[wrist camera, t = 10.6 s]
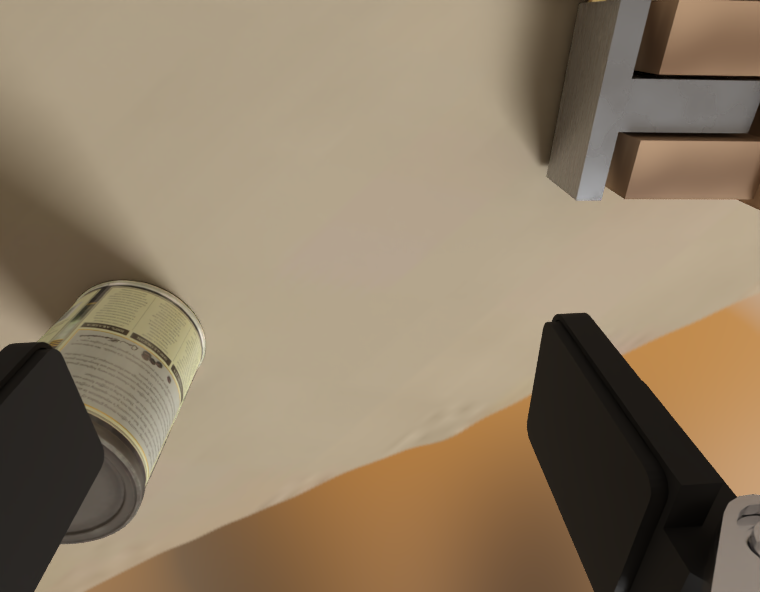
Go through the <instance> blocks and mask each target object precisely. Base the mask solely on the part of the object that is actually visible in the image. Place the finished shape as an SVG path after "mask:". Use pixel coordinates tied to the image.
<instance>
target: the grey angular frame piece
mask: <svg viewBox="0 0 760 592" xmlns="http://www.w3.org/2000/svg"><path fill="white" fill-rule="evenodd" d="M650 4H651V0H609V1H606V0H588V2H587V3H579V7H578V12H577V17H576V23H575V28H574V33H573V39H572V44H571V49H570V55H569V60H568V65H567V70H566V76H565V81H564V86H563V92H562V97H561V102H560V108H559V113H558V118H557V124H556V129H555V134H554V139H553V145H552V150H551V155H550V161H549V166H548V171H547V178H549V179H550V180H551V181H552V182H554V183H555V184H556V185H557V186H559V187H560V188H561V189H563V190H564V191H565V192H566V193H568V194H569V195H570V196H571V197H573V198H574V199H575V200H602V196H603V192H604V188H605V184H606V180H607V176H608V172H609V168H610V164H611V160H612V156H613V152H614V148H615V144H616V140H617V136H618V132H663V133H748V132H749V130H750V127H751V124H752V122H753V119H754V116H755V114H756V111H757V108H758V106H759V103H760V80H757V79H750V78H743V77H717V76H658V75H633V72H634V68H635V64H636V60H637V56H638V52H639V48H640V44H641V40H642V36H643V32H644V28H645V24H646V20H647V16H648V12H649V8H650Z"/></svg>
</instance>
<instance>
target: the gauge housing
mask: <svg viewBox="0 0 760 592" xmlns="http://www.w3.org/2000/svg"><path fill="white" fill-rule="evenodd" d="M634 70H636V71H642V72H647V73H653V74H663V75H722V76H736V77H743V78H750V79H757V80H760V1H731V0H662V1H651V4H650V8H649V12H648V16H647V20H646V24H645V28H644V32H643V36H642V40H641V44H640V48H639V52H638V56H637V60H636V64H635V68H634ZM605 186H606V187H607V188H609V189H610V190H612V191H613V192H615V193H616V194H618V195H619V196H621V197H622V198H624V199H737V200H739V201H741V202H743V203H746V204H748V205H750V206H752V207H754V208H756V209H759V210H760V103H759V106H758V108H757V111H756V114H755V116H754V119H753V122H752V124H751V127H750V130H749V132H748V133H663V132H618V136H617V140H616V144H615V148H614V152H613V156H612V160H611V164H610V168H609V172H608V176H607V180H606V184H605Z"/></svg>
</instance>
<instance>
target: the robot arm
mask: <svg viewBox="0 0 760 592" xmlns="http://www.w3.org/2000/svg"><path fill="white" fill-rule="evenodd" d="M527 431H528V436H529V439H530V442H531V444H532V447H533V449H534V452H535V454H536V456H537V459H538V461H539V463H540V466H541V468H542V470H543V473H544V475H545V477H546V480H547V482H548V484H549V487H550V489H551V491H552V494H553V496H554V498H555V501H556V503H557V505H558V508H559V510H560V513H561V515H562V517H563V520H564V522H565V524H566V526H567V528H568V531H569V534H570V536H571V538H572V541H573V543H574V545H575V548H576V550H577V552H578V555H579V557H580V559H581V562H582V564H583V566H584V569H585V571H586V573H587V576H588V578H589V580H590V583H591V585H592V588H593V590H594V592H760V495H754V494H752V495H745V496H739V497H737V496H736V495H735V494H734V493H733V492H732V490H731V489H730V488H729V487H728V485H727V484H726V483H725V482H724V480H723V479H722V478H721V477H720V475H719V474H718V473H717V472H716V470H715V469H714V468H713V467H712V465H711V464H710V463H709V462H708V460H707V459H706V458H705V457H704V456H703V454H702V453H701V452H700V451H699V449H698V448H697V447H696V446H695V444H694V443H693V442H692V441H691V439H690V438H689V437H688V436H687V435H686V433H685V432H684V431H683V429H682V428H681V427H680V426H679V425H678V423H677V422H676V421H675V420H674V418H673V417H672V416H671V415H670V413H669V412H668V411H667V410H666V408H665V407H664V406H663V405H662V403H661V402H660V401H659V400H658V398H657V397H656V396H655V395H654V394H653V392H652V391H651V390H650V388H649V387H648V386H647V385H646V384H645V383H644V382H643V381H642V380H641V379H640V378H639V377H638V376H637V374H636V373H635V372H634V370H633V369H632V368H631V367H630V366H629V364H628V363H627V362H626V360H625V359H624V358H623V357H622V355H621V354H620V353H619V352H618V350H617V349H616V348H615V347H614V345H613V344H612V343H611V342H610V340H609V339H608V338H607V337H606V335H605V334H604V333H603V332H602V330H601V329H600V328H599V327H598V325H597V324H596V323H595V322H594V320H593V319H592V318H591V317H590V316H589V315H588V314H587V313H570V314H557V315H555V316H554V318H553V320H552V322H546V323H545V325H544V327H543V332H542V338H541V344H540V350H539V356H538V362H537V367H536V373H535V379H534V385H533V391H532V397H531V402H530V408H529V414H528V420H527ZM103 462H104V449H103V446H102V443H101V441H100V439H99V437H98V434H97V432H96V430H95V428H94V425H93V423H92V421H91V419H90V416H89V414H88V412H87V410H86V407H85V405H84V403H83V401H82V398H81V396H80V394H79V392H78V389H77V387H76V385H75V383H74V380H73V378H72V376H71V374H70V371H69V369H68V367H67V365H66V362H65V360H64V358H63V356H62V354H61V352H60V351H58V350H57V349H53V348H52V346H51V345H49V344H48V343H45V342H31V343H14V344H9V345H8V346H6V347H5V348H4V349H3V350H1V351H0V592H34V591H35V589H36V587H37V585H38V583H39V582H40V580H41V578H42V576H43V574H44V572H45V571H46V569H47V567H48V565H49V563H50V561H51V560H52V558H53V556H54V554H55V552H56V550H57V549H58V547H59V545H60V543H61V541H62V539H63V538H64V536H65V534H66V532H67V530H68V528H69V527H70V525H71V523H72V521H73V519H74V517H75V516H76V514H77V512H78V510H79V508H80V506H81V505H82V503H83V501H84V499H85V497H86V495H87V494H88V492H89V490H90V488H91V486H92V484H93V482H94V481H95V479H96V477H97V475H98V473H99V471H100V470H101V468H102V465H103Z"/></svg>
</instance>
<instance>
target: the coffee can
mask: <svg viewBox="0 0 760 592" xmlns="http://www.w3.org/2000/svg"><path fill="white" fill-rule="evenodd" d="M37 342H45V343H48V344H49V345H51V346H52V348H53V349H57V350H58V351H60V352H61V354H62V356H63V358H64V360H65V362H66V365H67V367H68V369H69V371H70V374H71V376H72V378H73V380H74V383H75V385H76V387H77V389H78V392H79V394H80V396H81V398H82V401H83V403H84V405H85V407H86V410H87V412H88V414H89V416H90V419H91V421H92V423H93V425H94V428H95V430H96V432H97V434H98V437H99V439H100V441H101V443H102V446H103V449H104V462H103V465H102V468H101V470H100V471H99V473H98V475H97V477H96V479H95V481H94V482H93V484H92V486H91V488H90V490H89V492H88V494H87V495H86V497H85V499H84V501H83V503H82V505H81V506H80V508H79V510H78V512H77V514H76V516H75V517H74V519H73V521H72V523H71V525H70V527H69V528H68V530H67V532H66V534H65V536H64V538H63V539H62V541H61V543H60V544H76V543H84V542H89V541H94V540H98V539H101V538H104V537H107V536H109V535H111V534H114V533H115V532H117V531H119V530H120V529H122V528H123V527H125V526H126V525H127V524H128V523H129V522H130V521H131V520H132V519H133V518H134V516H135V515H136V513H137V511H138V509H139V507H140V505H141V502H142V500H143V496H144V491H145V488H146V485H147V483H148V481H149V479H150V477H151V475H152V472H153V470H154V468H155V465H156V463H157V461H158V459H159V457H160V454H161V452H162V449H163V447H164V445H165V443H166V440H167V438H168V436H169V433H170V431H171V428H172V426H173V424H174V421H175V419H176V417H177V415H178V412H179V410H180V408H181V406H182V403H183V401H184V399H185V397H186V395H187V392H188V390H189V387H190V385H191V383H192V381H193V378H194V376H195V374H196V372H197V369H198V368H199V366H200V364H201V362H202V360H203V357H204V355H205V336H204V332H203V329H202V327H201V325H200V323H199V321H198V319H197V317H196V316H195V314H194V313H193V312H192V311H191V309H190V308H188V307H187V306H186V305H185V304H184V303H183V302H182V301H181V300H180V299H178V298H177V297H176V296H174V295H172V294H171V293H169V292H167V291H165V290H163V289H161V288H159V287H156V286H153V285H150V284H147V283H143V282H136V281H126V280H118V281H110V282H105V283H102V284H99V285H97V286H93V287H92V288H90V289H89V290H87V291H86V292H84V293H83V294H82V295H81V296H80V297H79V298H78V299H77V300H76V302H75V303H74V305H73V306H72V307H71V308H70V309H69V310H68V311H67V312H66V313H65V314H64V315H63V316H62V317H61V318H60V319H59V320H58V321H57V322H56V323H55V324H54V325H53V326H52V327H51V328H50V329H49V330H48V331H47V332H46V333H45V334H44V335H43V336H42V337H41V338H40V339H39V340H38V341H37Z"/></svg>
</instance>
